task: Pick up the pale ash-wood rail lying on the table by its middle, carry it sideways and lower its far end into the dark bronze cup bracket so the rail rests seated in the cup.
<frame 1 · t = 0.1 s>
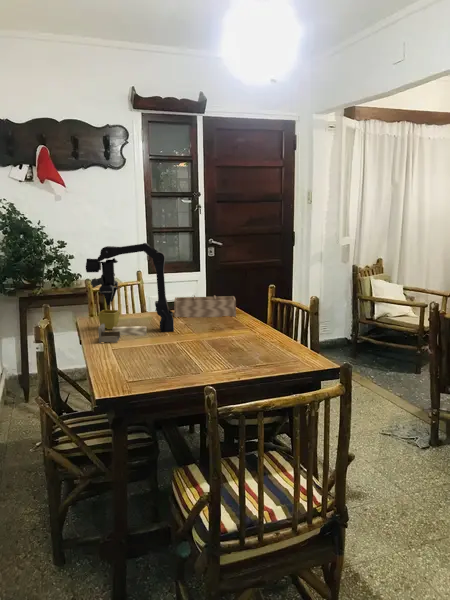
hand: (109, 303, 244), 15 cm above the table, tool pointing down, fingers open, 9 cm apart
rail: (129, 335, 240), on the table
bracket: (111, 340, 230), on the table
flower pot: (109, 328, 253), on the table
holder: (205, 314, 285), on the table
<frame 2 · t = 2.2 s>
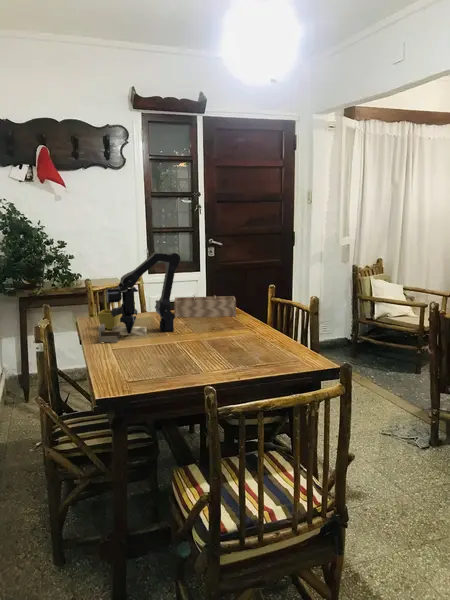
hand: (129, 332, 240), 1 cm above the table, tool pointing down, fingers closed on rail, 4 cm apart
rail: (129, 335, 240), on the table, touching gripper
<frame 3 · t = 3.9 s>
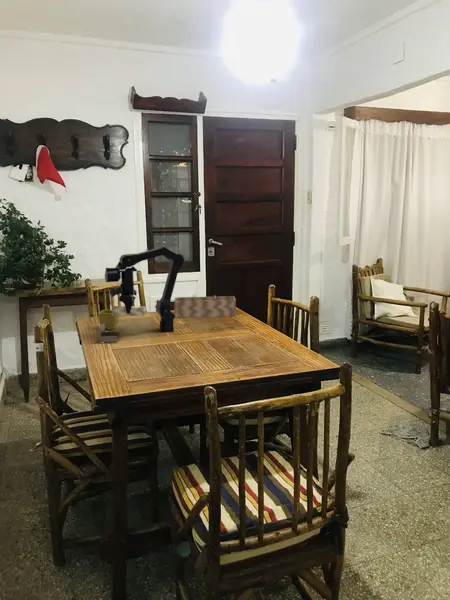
hand: (128, 312, 238), 11 cm above the table, tool pointing down, fingers closed on rail, 4 cm apart
rail: (129, 315, 238), point 10 cm above the table, touching gripper
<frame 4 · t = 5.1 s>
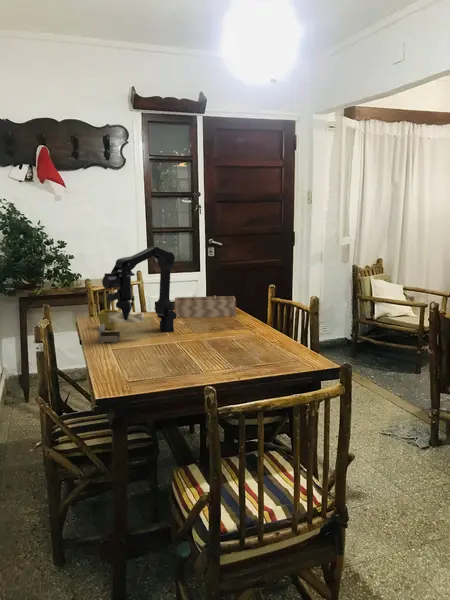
hand: (126, 319, 229), 10 cm above the table, tool pointing down, fingers closed on rail, 4 cm apart
rail: (126, 321, 229), point 9 cm above the table, touching gripper
everything else where it was.
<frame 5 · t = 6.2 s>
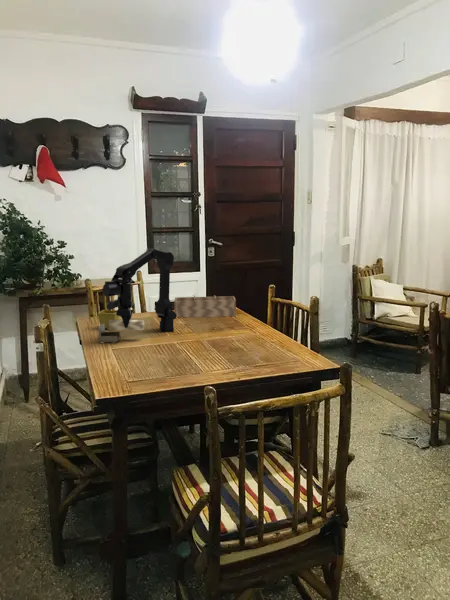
hand: (126, 326, 229), 6 cm above the table, tool pointing down, fingers closed on rail, 4 cm apart
rail: (126, 329, 230), point 5 cm above the table, touching gripper
when the fingers open (2 cm above the table, at t = 7.2 s): rail stays where it is, resting on bracket.
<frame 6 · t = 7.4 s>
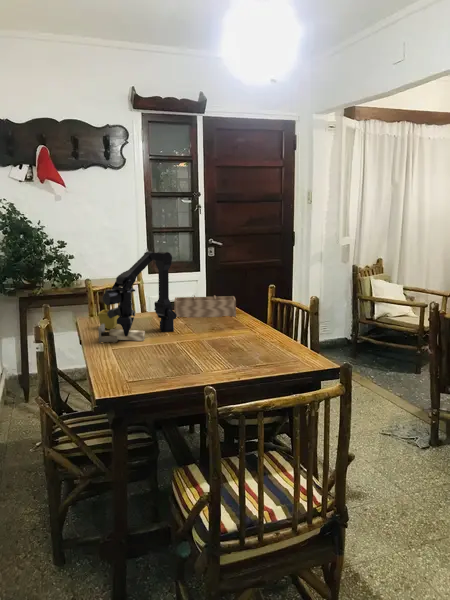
hand: (127, 334, 230), 2 cm above the table, tool pointing down, fingers open, 5 cm apart
rail: (127, 339, 230), resting on bracket
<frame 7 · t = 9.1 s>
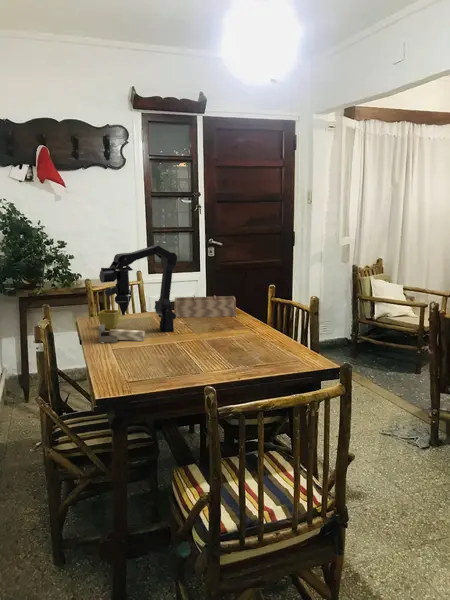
hand: (124, 313, 233), 12 cm above the table, tool pointing down, fingers open, 9 cm apart
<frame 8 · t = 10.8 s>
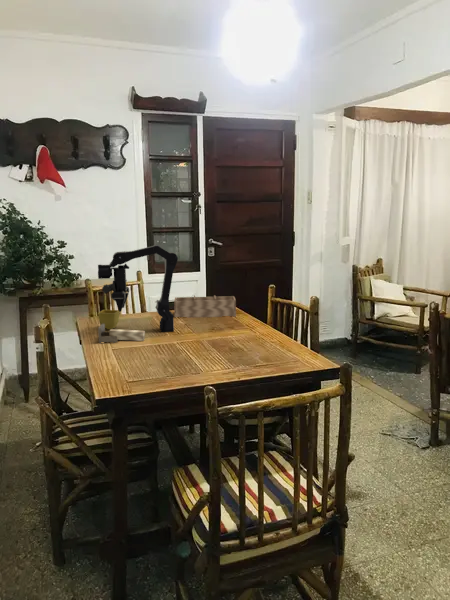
hand: (121, 309, 241), 12 cm above the table, tool pointing down, fingers open, 9 cm apart
at the end: rail 0.5 cm from the target spot on the table beside the bracket, on the table; rail tilted 3°; the gripper is holding nothing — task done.
